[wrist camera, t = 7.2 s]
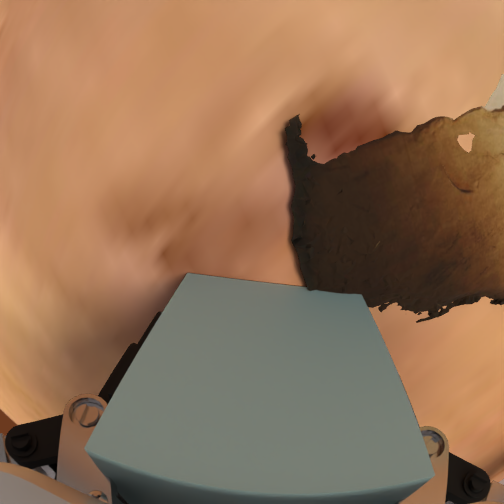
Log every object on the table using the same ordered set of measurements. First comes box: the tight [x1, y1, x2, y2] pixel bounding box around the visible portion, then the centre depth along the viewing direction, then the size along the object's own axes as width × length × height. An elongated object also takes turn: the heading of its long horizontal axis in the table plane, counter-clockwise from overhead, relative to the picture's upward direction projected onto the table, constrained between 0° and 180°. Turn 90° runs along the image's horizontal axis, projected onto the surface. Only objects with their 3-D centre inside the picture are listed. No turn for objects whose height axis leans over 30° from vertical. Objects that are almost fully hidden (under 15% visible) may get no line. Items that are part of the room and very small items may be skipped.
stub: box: [84, 273, 435, 504], centre depth 7 cm, size 6×5×7 cm
